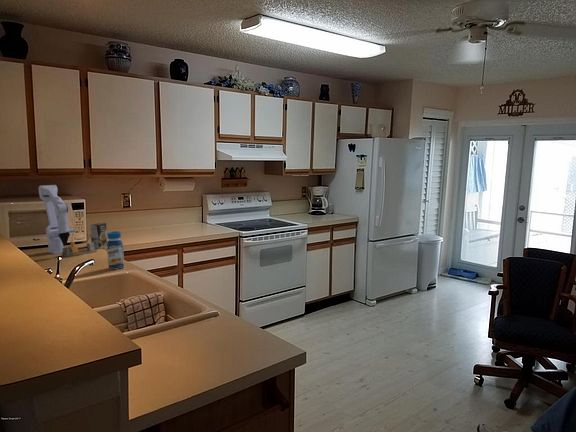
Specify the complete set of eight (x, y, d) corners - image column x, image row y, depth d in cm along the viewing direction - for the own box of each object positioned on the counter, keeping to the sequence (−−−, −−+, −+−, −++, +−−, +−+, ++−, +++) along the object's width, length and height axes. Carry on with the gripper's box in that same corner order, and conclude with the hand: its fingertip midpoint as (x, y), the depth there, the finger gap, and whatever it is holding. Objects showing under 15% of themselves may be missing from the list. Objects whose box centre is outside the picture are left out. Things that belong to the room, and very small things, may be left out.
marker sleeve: (68, 252, 272) (67, 241, 271) (75, 251, 275) (74, 240, 274) (71, 253, 269) (70, 242, 268) (78, 252, 273) (77, 241, 271)
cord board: (61, 255, 271) (60, 246, 270) (89, 250, 285) (89, 241, 284) (68, 257, 266) (67, 248, 265) (96, 251, 279) (96, 243, 279)
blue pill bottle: (128, 266, 241) (125, 231, 239) (118, 270, 233) (115, 234, 230) (114, 265, 244) (112, 230, 241) (105, 269, 236) (102, 233, 233)
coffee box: (100, 249, 288) (98, 225, 286) (91, 248, 289) (89, 225, 287) (108, 246, 297) (106, 222, 295) (100, 245, 298) (98, 222, 296)
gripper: (53, 225, 258) (55, 247, 260) (77, 222, 269) (79, 243, 271) (48, 224, 262) (50, 246, 264) (72, 221, 273) (74, 242, 275)
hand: (64, 245), depth 268 cm, fingers closed
